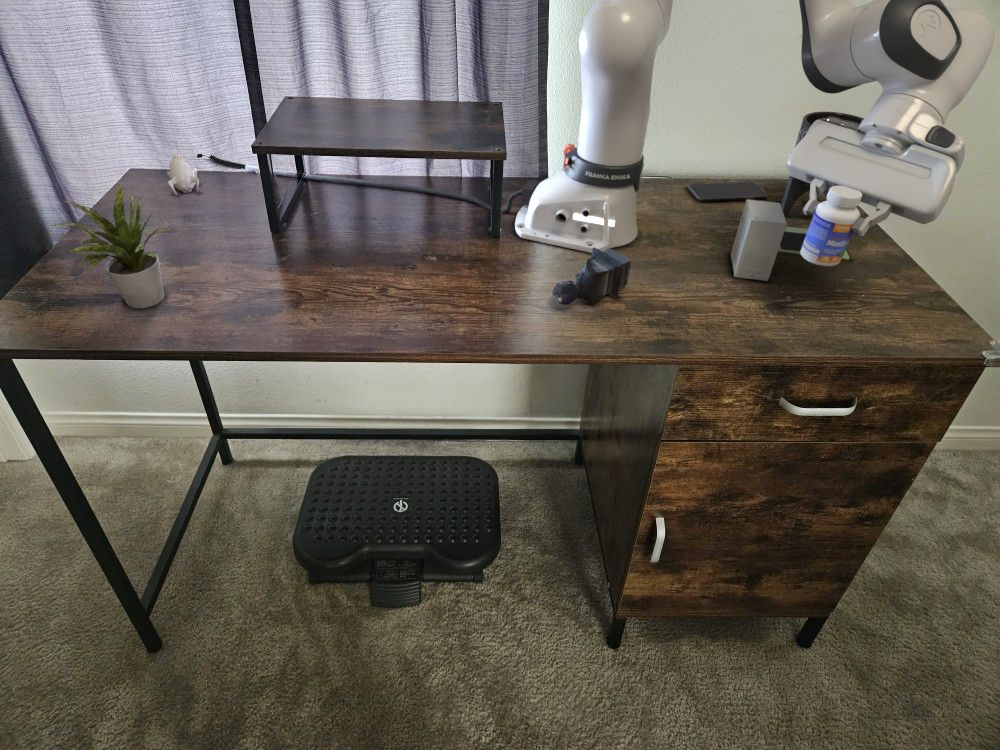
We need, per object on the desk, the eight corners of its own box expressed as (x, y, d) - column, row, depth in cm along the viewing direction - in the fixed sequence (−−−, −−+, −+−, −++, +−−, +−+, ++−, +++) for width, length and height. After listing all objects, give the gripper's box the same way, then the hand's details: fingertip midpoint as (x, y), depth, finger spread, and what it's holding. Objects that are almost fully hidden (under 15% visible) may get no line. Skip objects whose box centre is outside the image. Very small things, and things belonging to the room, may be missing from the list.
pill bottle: (821, 270, 87) (849, 203, 81) (790, 252, 91) (815, 186, 85) (848, 262, 89) (878, 196, 83) (818, 244, 93) (843, 180, 87)
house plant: (93, 279, 101) (50, 179, 91) (188, 264, 105) (157, 167, 95) (86, 330, 91) (37, 224, 81) (192, 311, 95) (157, 208, 85)
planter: (856, 220, 126) (895, 128, 114) (816, 236, 120) (853, 141, 109) (799, 195, 134) (830, 107, 122) (759, 209, 128) (788, 118, 116)
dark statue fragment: (541, 302, 100) (545, 266, 96) (600, 276, 107) (606, 240, 103) (571, 322, 96) (575, 285, 92) (630, 293, 103) (637, 257, 99)
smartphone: (686, 183, 134) (754, 180, 136) (685, 188, 135) (753, 184, 137) (699, 199, 129) (770, 195, 130) (698, 203, 129) (769, 199, 131)
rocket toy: (171, 187, 127) (159, 147, 122) (201, 183, 129) (189, 144, 124) (172, 198, 123) (159, 157, 118) (203, 194, 125) (191, 154, 120)
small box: (767, 282, 107) (788, 224, 100) (733, 277, 108) (750, 219, 101) (762, 258, 113) (781, 202, 106) (729, 254, 114) (746, 198, 107)
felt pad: (766, 251, 115) (767, 248, 115) (759, 225, 123) (760, 222, 122) (849, 260, 113) (850, 257, 113) (836, 233, 121) (837, 231, 121)
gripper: (818, 99, 88) (759, 185, 89) (979, 144, 77) (909, 242, 78) (822, 125, 94) (766, 206, 95) (973, 171, 82) (907, 263, 83)
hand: (832, 223), depth 86 cm, fingers closed on pill bottle, 5 cm apart
